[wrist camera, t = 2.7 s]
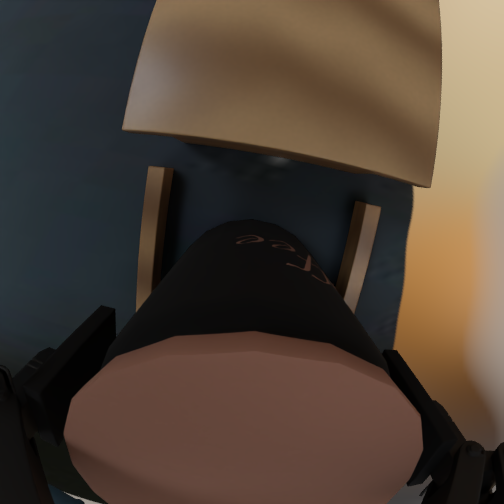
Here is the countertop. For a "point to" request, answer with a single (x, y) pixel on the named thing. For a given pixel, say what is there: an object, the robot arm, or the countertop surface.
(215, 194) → the countertop surface
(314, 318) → the coffee jar
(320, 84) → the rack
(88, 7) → the countertop surface
